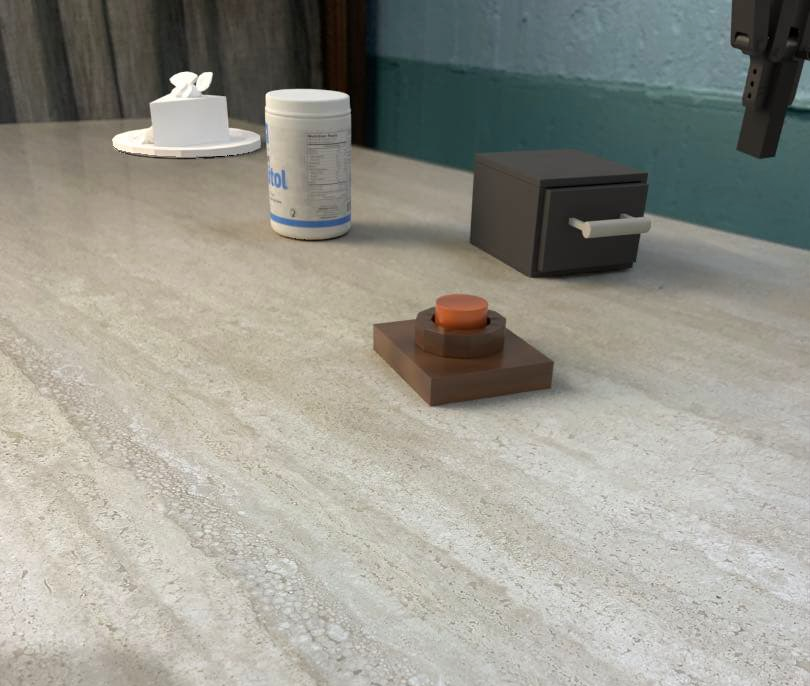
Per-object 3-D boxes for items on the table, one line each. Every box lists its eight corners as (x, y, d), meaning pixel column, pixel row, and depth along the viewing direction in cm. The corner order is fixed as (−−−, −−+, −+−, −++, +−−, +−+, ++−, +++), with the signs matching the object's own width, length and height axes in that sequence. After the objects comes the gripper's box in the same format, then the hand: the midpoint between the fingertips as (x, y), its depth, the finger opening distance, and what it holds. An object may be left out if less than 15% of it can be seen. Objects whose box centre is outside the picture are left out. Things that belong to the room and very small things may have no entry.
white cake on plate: (171, 130, 163) (163, 62, 157) (287, 141, 155) (283, 70, 149) (82, 149, 144) (69, 73, 138) (209, 164, 136) (201, 83, 130)
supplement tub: (256, 228, 104) (247, 91, 96) (323, 217, 109) (319, 86, 101) (298, 246, 98) (292, 101, 89) (367, 234, 102) (367, 96, 94)
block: (551, 389, 66) (557, 338, 64) (430, 407, 62) (432, 354, 60) (481, 335, 75) (484, 290, 73) (372, 349, 72) (373, 302, 70)
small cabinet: (633, 267, 93) (648, 172, 88) (530, 278, 89) (540, 179, 84) (563, 234, 105) (573, 148, 99) (469, 242, 101) (474, 153, 95)
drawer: (660, 274, 88) (675, 193, 84) (564, 284, 85) (574, 201, 80) (569, 231, 102) (578, 160, 98) (483, 239, 98) (488, 165, 94)
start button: (495, 329, 66) (497, 307, 65) (447, 335, 65) (448, 313, 64) (472, 313, 69) (474, 291, 68) (426, 318, 68) (427, 296, 67)
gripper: (815, -270, 48) (718, 177, 62) (986, -262, 51) (856, 156, 66) (726, -259, 53) (656, 150, 68) (886, -253, 57) (787, 132, 72)
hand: (755, 153), depth 67 cm, fingers closed
